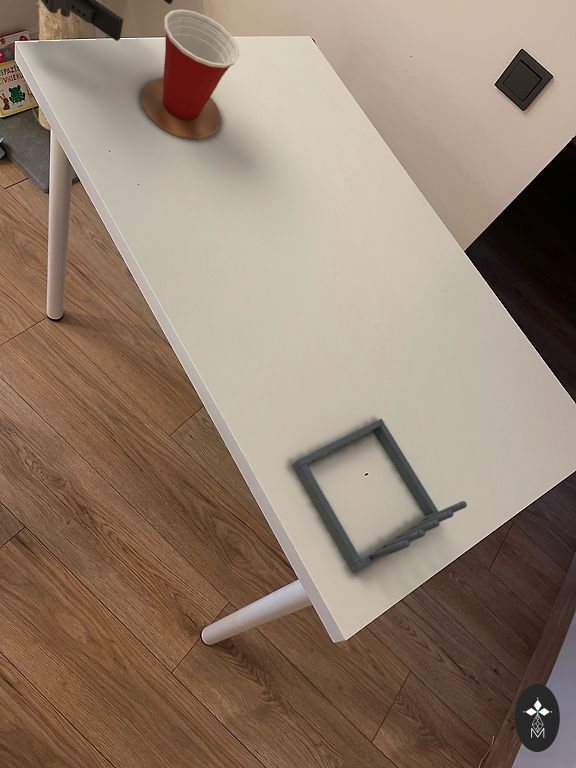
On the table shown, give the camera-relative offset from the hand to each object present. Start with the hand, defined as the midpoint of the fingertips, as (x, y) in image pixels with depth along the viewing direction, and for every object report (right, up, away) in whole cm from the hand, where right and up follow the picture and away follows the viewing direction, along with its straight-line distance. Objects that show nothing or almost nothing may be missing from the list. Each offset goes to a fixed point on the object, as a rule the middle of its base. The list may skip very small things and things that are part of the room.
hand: (148, 11), depth 80 cm
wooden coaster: (+3, -8, +11) cm, 14 cm away
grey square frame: (+28, -63, -7) cm, 70 cm away
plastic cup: (+3, -8, +11) cm, 14 cm away
